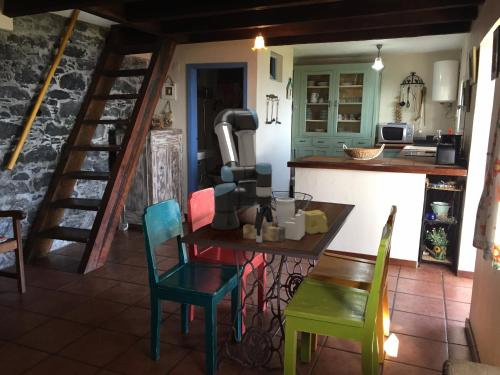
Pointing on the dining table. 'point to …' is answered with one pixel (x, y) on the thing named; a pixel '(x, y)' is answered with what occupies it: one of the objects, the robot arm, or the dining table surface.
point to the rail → (265, 233)
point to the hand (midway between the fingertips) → (264, 238)
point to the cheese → (315, 222)
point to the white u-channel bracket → (295, 226)
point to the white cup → (284, 210)
